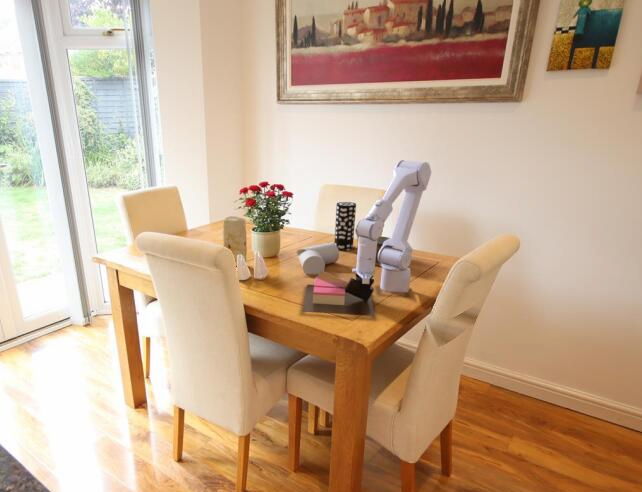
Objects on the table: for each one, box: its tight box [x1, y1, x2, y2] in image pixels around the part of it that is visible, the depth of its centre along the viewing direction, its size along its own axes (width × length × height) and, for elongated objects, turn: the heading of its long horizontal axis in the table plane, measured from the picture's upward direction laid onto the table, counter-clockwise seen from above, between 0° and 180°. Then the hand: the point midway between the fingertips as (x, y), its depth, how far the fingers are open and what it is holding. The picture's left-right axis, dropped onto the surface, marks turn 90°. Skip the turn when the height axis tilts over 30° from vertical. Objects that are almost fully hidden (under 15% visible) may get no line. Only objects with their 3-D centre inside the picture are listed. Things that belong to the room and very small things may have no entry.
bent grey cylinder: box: [296, 241, 340, 275], centre depth 183 cm, size 18×11×20 cm
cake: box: [313, 276, 346, 288], centre depth 157 cm, size 10×8×4 cm
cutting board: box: [301, 284, 375, 317], centre depth 153 cm, size 22×23×1 cm
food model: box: [222, 216, 248, 265], centre depth 187 cm, size 10×7×20 cm
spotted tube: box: [333, 201, 357, 252], centre depth 204 cm, size 8×8×20 cm
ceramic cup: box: [375, 235, 391, 267], centre depth 187 cm, size 13×10×10 cm
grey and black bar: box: [316, 270, 374, 301], centre depth 151 cm, size 18×2×4 cm, turn 79°
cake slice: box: [313, 287, 345, 305], centre depth 151 cm, size 10×4×4 cm, turn 78°
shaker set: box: [236, 251, 269, 281], centre depth 173 cm, size 12×4×11 cm, turn 85°
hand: (362, 296), depth 151 cm, fingers closed on grey and black bar, 2 cm apart
